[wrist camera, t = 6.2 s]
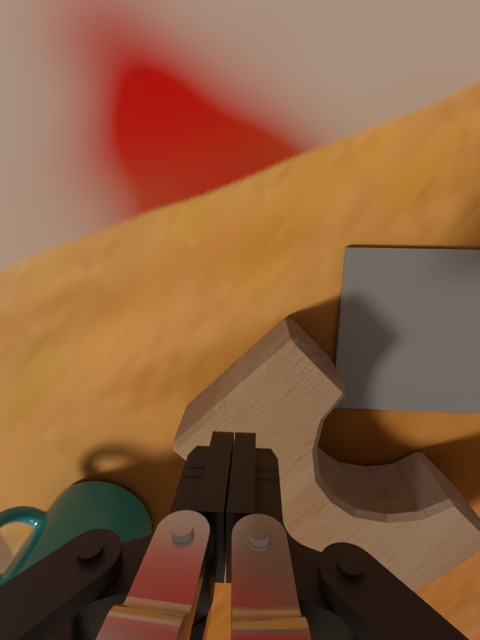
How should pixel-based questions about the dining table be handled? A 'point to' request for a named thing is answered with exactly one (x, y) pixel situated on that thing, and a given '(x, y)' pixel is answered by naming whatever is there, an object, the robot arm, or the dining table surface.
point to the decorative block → (332, 463)
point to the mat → (410, 329)
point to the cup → (75, 521)
